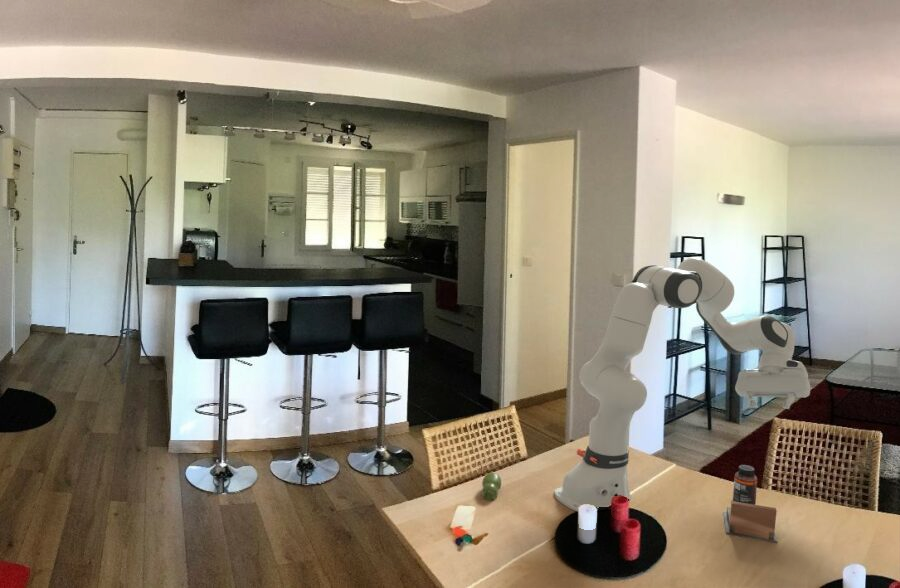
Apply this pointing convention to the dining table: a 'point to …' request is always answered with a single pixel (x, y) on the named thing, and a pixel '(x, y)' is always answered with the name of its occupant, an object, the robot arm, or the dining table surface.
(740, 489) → the supplement bottle
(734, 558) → the dining table surface
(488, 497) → the green rounded lumpy piece
